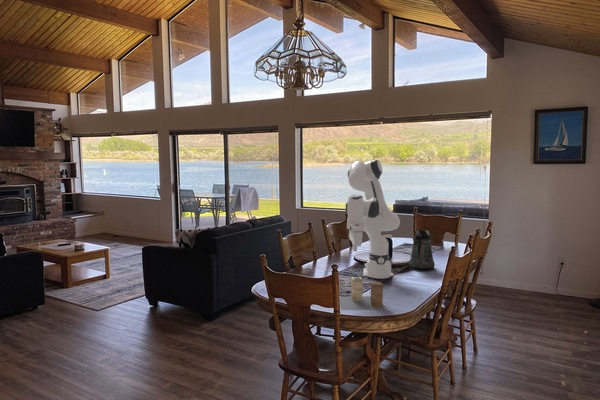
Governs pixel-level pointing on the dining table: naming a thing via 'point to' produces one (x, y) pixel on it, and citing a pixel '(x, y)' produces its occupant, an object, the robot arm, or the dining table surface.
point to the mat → (358, 304)
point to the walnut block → (376, 294)
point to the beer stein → (421, 253)
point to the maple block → (356, 288)
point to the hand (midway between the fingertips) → (354, 250)
